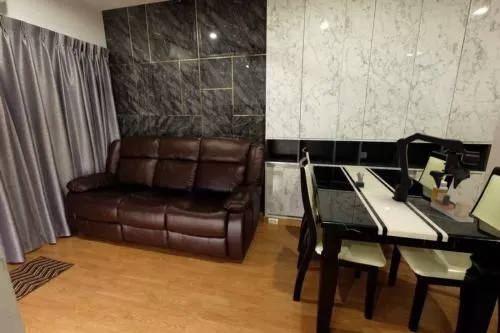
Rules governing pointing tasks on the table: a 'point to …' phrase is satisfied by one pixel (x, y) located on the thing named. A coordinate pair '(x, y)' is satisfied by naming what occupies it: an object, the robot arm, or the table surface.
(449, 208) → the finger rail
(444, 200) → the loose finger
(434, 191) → the supplement bottle
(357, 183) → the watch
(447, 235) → the table surface
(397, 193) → the robot arm
